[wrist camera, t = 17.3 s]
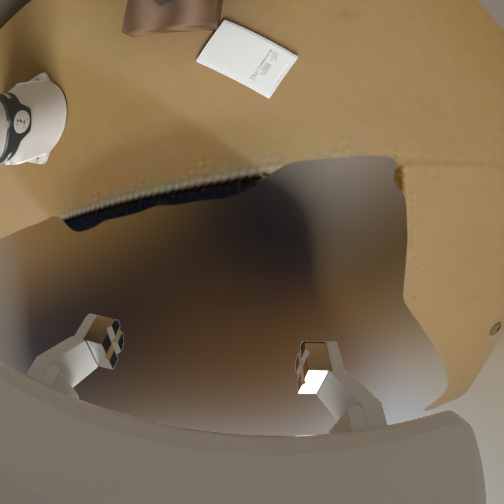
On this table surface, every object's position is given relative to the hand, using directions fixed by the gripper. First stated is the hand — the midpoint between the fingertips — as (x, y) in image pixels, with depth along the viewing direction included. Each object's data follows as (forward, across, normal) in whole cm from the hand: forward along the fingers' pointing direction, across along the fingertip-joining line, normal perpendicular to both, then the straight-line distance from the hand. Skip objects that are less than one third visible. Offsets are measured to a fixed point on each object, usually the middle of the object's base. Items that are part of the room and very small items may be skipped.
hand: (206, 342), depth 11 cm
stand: (+34, +13, -29) cm, 47 cm away
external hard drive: (+35, +1, -17) cm, 39 cm away
